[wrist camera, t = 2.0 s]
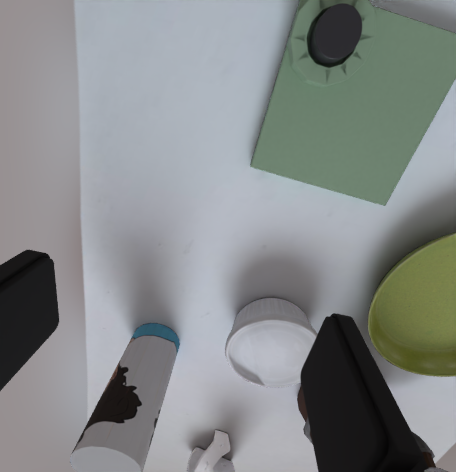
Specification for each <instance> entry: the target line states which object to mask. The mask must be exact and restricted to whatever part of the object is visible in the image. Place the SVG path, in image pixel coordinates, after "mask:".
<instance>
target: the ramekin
mask: <svg viewBox="0 0 456 472" xmlns="http://www.w3.org/2000/svg"><path fill="white" fill-rule="evenodd" d="M317 335H318V334H317V333H316V331H315V330H314V329H313V328H312V326H311V324H310V322H309V320H308V319H307V317H306V315H305V314H304V313H303V311H302V310H301V309H300V308H299V307H297V306H296V305H295V304H293V303H291V302H288V301H286V300H283V299H278V298H264V299H259V300H256V301H254V302H251V303H250V304H248V305H247V306H245V307H244V308H243V309H242V310H241V311H240V312H239V313H238V315H237V317H236V318H235V321H234V324H233V327H232V330H231V332H230V334H229V336H228V338H227V341H226V348H225V354H226V359H227V362H228V364H229V366H230V367H231V369H232V370H233V371H234V372H235V373H236V374H237V375H238V376H239V377H241V378H242V379H244V380H246V381H248V382H250V383H252V384H255V385H259V386H263V387H271V388H280V387H287V386H292V385H295V384H298V383H300V382H301V379H300V375H301V370H302V367H303V365H304V363H305V361H306V359H307V356H308V354H309V352H310V350H311V348H312V346H313V343H314V341H315V339H316V337H317Z"/></svg>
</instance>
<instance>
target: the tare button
mask: <svg viewBox="0 0 456 472" xmlns="http://www.w3.org/2000/svg"><path fill="white" fill-rule="evenodd" d="M361 34H362V19H361V16H360V14H359V12H358V11H357V9H356V8H355V7H353V6H352V5H349V4H345V3H341V4H336V5H334V6H332V7H330V8H329V9H328V10H326V11H325V12H324V14H323V15H322V16H321V17H320V19H319V20H318V21H317V23H316V24H315V26H314V28H313V30H312V33H311V37H310V47H311V51H312V53H313V55H314V57H315V58H316V59H317V60H319V61H320V62H322V63H328V64H329V63H334V62H337V61H339V60H340V59H342V58H344V57H345V56H347V55H348V54H350V53H351V52H352V51H353V50H354V49H355V47H356V46H357V44H358V42H359V40H360V37H361Z"/></svg>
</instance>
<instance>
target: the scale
mask: <svg viewBox="0 0 456 472" xmlns="http://www.w3.org/2000/svg"><path fill="white" fill-rule="evenodd" d="M341 3H345V4H349V5H352V6H353V7H355V8H356V9H357V11H358V12H359V14H360V16H361V19H362V34H361V37H360V40H359V42H358V44H357V46H356V47H355V49H354V50H353V51H352V52H351V53H350V54H348V55H347V56H345V57H344V58H342V59H340V60H339V61H337V62H334V63H329V64H328V63H322V62H320V61H319V60H317V59H316V58H315V57H314V55H313V53H312V51H311V47H310V37H311V33H312V30H313V28H314V26H315V24H316V23H317V21H318V20H319V19H320V17H321V16H322V15H323V14H324V12H325V11H326V10H328V9H329V8H330V7H332V6H334V5H336V4H341ZM455 79H456V33H453V32H450V31H447V30H444V29H441V28H438V27H435V26H432V25H429V24H426V23H423V22H420V21H417V20H414V19H411V18H408V17H405V16H402V15H399V14H395V13H392V12H389V11H386V10H383V9H380V8H377V7H374V6H372V4H371V3H370V1H369V0H300V1H299V4H298V8H297V11H296V14H295V18H294V21H293V24H292V28H291V31H290V34H289V38H288V41H287V44H286V48H285V51H284V54H283V58H282V61H281V64H280V68H279V71H278V74H277V77H276V81H275V84H274V87H273V91H272V94H271V97H270V101H269V104H268V107H267V111H266V114H265V117H264V121H263V124H262V127H261V131H260V134H259V137H258V141H257V144H256V147H255V151H254V154H253V157H252V161H251V164H250V165H251V167H252V168H256V169H259V170H262V171H266V172H269V173H273V174H276V175H280V176H283V177H287V178H290V179H294V180H297V181H301V182H304V183H308V184H311V185H314V186H318V187H321V188H325V189H328V190H332V191H335V192H339V193H342V194H346V195H349V196H353V197H356V198H360V199H363V200H366V201H370V202H373V203H377V204H380V205H384V206H385V205H386V203H387V201H388V200H389V198H390V196H391V194H392V192H393V191H394V189H395V187H396V185H397V183H398V182H399V180H400V178H401V176H402V174H403V173H404V171H405V169H406V167H407V165H408V163H409V162H410V160H411V158H412V156H413V154H414V153H415V151H416V149H417V147H418V145H419V144H420V142H421V140H422V138H423V136H424V135H425V133H426V131H427V129H428V127H429V126H430V124H431V122H432V120H433V118H434V117H435V115H436V113H437V111H438V109H439V107H440V106H441V104H442V102H443V100H444V98H445V97H446V95H447V93H448V91H449V89H450V88H451V86H452V84H453V82H454V80H455Z"/></svg>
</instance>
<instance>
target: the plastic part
mask: <svg viewBox="0 0 456 472" xmlns="http://www.w3.org/2000/svg"><path fill="white" fill-rule="evenodd" d="M229 451H230V443H229V438H228V434H227V433H225V432H221V431H217V430H215V435H214V440H213V442H212V443H211V444H210V446H209V447H208V448H207V449H206V450H203V449H200V448H198V447H196V448H195V449H194V450H193V451H192V453H191V455H190V458H189V461H188V466H187V472H235V468H234V465H233V462H231V461H229V460H226V459H224V458H222V456H223V455H225V454H227V453H228V452H229Z"/></svg>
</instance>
